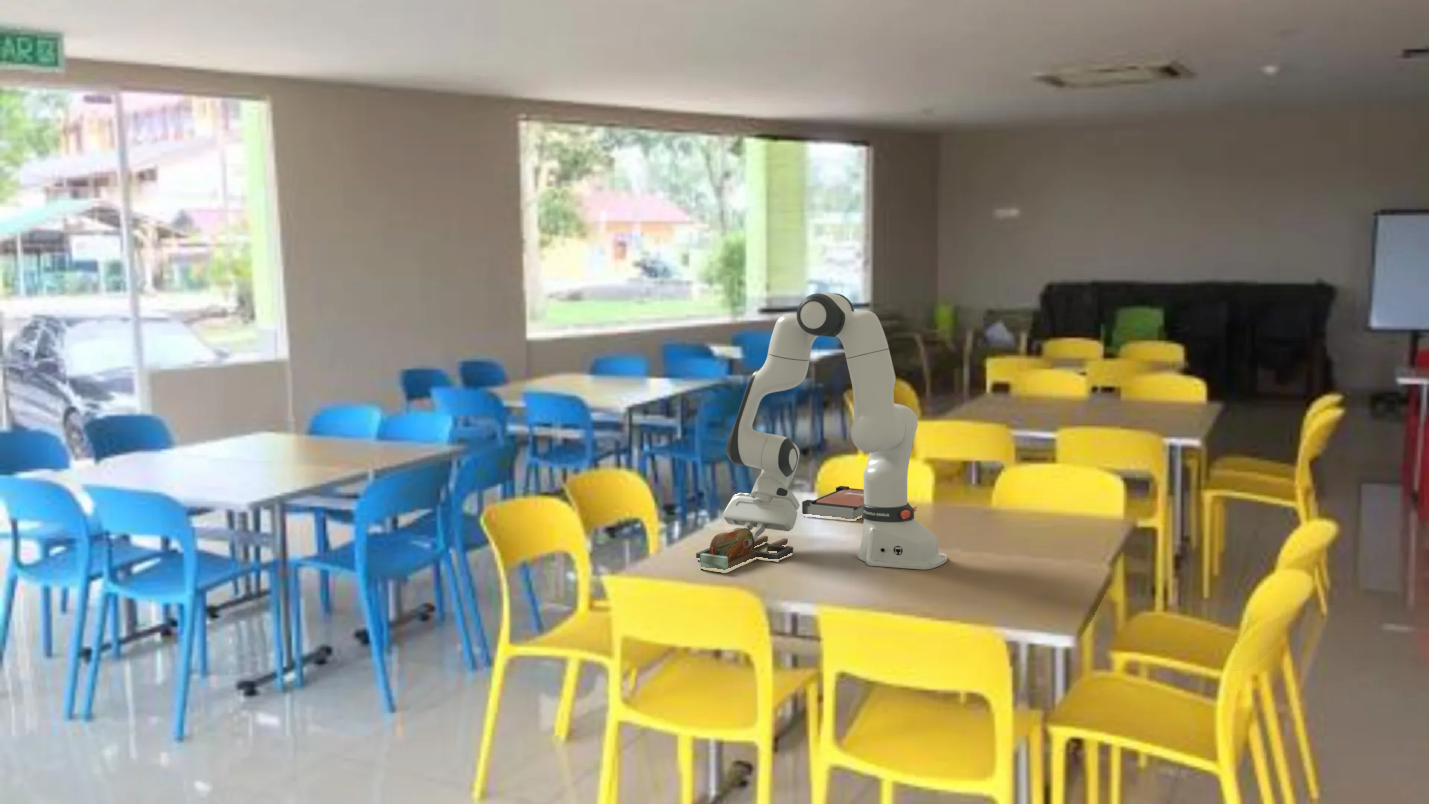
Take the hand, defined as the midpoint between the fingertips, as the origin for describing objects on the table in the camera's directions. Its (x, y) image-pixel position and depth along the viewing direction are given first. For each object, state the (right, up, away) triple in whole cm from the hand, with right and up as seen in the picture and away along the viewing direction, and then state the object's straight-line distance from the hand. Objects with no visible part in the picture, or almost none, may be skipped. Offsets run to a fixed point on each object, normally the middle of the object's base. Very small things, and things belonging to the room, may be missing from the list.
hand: (749, 539), depth 309 cm
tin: (-5, -5, -6) cm, 9 cm away
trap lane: (-1, -4, -1) cm, 5 cm away
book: (+31, +2, +51) cm, 60 cm away
